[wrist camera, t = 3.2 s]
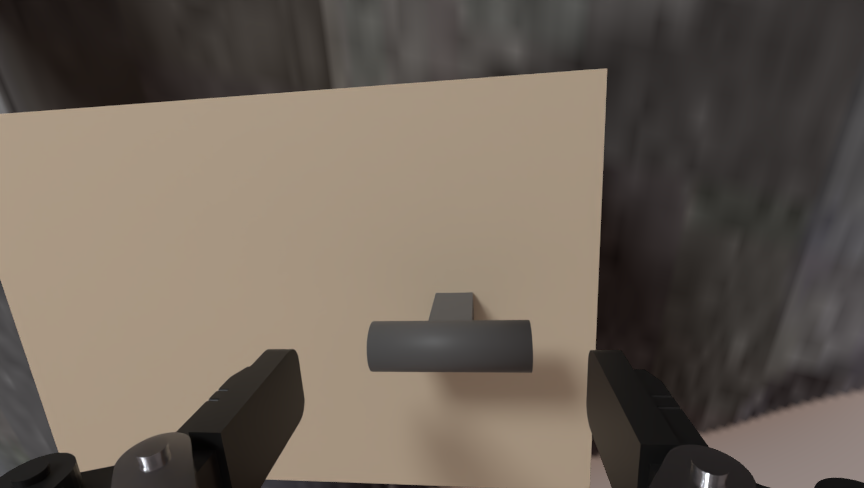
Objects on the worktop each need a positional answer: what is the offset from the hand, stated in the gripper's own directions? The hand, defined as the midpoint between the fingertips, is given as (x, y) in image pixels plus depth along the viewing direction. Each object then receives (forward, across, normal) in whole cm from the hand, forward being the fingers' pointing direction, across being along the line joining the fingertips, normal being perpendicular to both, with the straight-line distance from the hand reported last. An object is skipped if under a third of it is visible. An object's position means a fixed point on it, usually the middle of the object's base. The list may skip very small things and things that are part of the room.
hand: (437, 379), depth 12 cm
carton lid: (+6, +7, 0) cm, 9 cm away
